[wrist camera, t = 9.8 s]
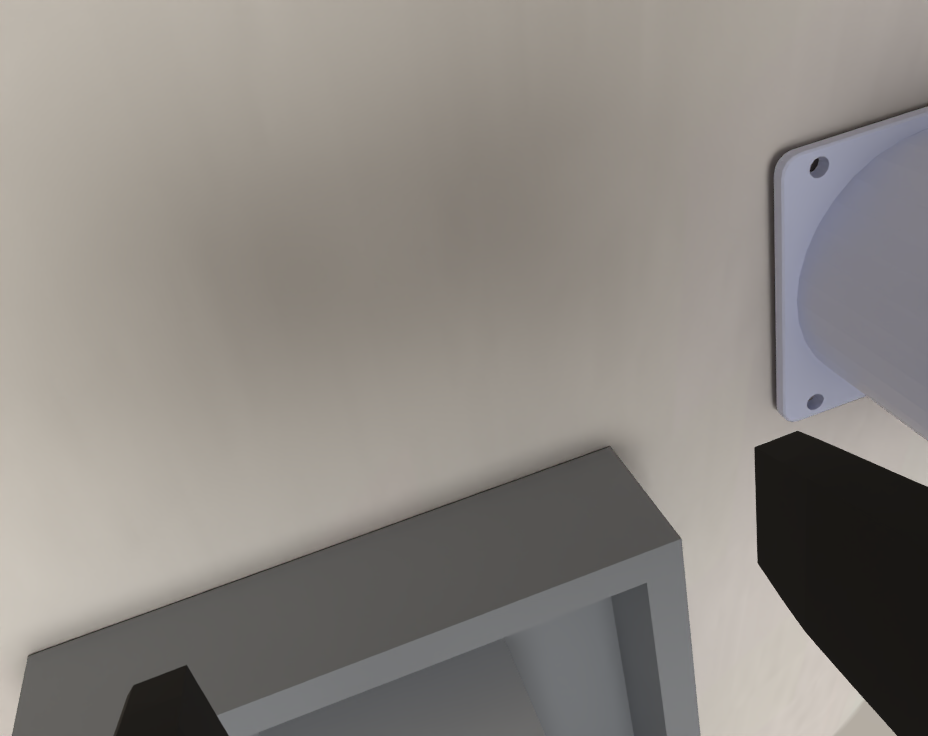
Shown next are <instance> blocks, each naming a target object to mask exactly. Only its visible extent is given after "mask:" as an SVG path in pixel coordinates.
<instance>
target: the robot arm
mask: <svg viewBox="0 0 928 736" xmlns="http://www.w3.org/2000/svg"><path fill="white" fill-rule="evenodd" d="M817 158H819V162H818V166H817V167H816V168H815V170H814V171H812V172H811V173H810V167H811V164H812V163H813V161H814V160H815V159H817ZM774 229H775V310H776V391H777V410H778V412H779V413H780V414H781V415H782V416H783V417H784V418H785V419H786V420H787V421H791V422H794V421H799V420H802V419H805V418H807V417H810V416H813V415H815V414H818V413H821V412H824V411H826V410H829V409H832V408H834V407H837V406H840V405H843V404H845V403H848V402H851V401H854V400H856V399H859V398H862V397H864V396H867V397H869V398H870V399H871V400H873V401H874V402H876V403H877V404H878V405H880V406H881V407H882V408H884V409H885V410H886V411H888V412H889V413H890V414H892V415H893V416H895V417H896V418H897V419H899V420H900V421H901V422H903V423H904V424H905V425H907V426H908V427H909V428H911V429H912V430H914V431H915V432H916V433H918V434H919V435H920V436H922V437H923V438H924V439H926V440H927V441H928V106H927V107H924V108H921V109H918V110H914V111H911V112H908V113H905V114H902V115H899V116H896V117H893V118H889V119H886V120H883V121H880V122H877V123H874V124H871V125H867V126H864V127H861V128H858V129H855V130H852V131H849V132H846V133H842V134H839V135H836V136H833V137H830V138H827V139H824V140H821V141H817V142H814V143H811V144H808V145H805V146H802V147H799V148H796V149H792V150H790V151H789V152H787V153H785V154H784V155H783V156H782V157H781V158H780V159H779V161H778V163H777V165H776V167H775V171H774ZM813 395H814V396H813ZM812 396H813V398H812V399H811V400H810V401H808V400H809V399H810V398H811V397H812ZM755 483H756V520H757V556H758V564H759V566H760V567H761V569H762V570H763V572H764V573H765V575H766V576H767V578H768V579H769V581H770V582H771V584H772V585H773V587H774V588H775V589H776V591H777V592H778V594H779V595H780V597H781V598H782V600H783V601H784V603H785V604H786V606H787V607H788V608H789V610H790V611H791V613H792V614H793V615H794V617H795V618H796V620H797V621H798V622H799V624H800V625H801V627H802V628H803V629H804V631H805V632H806V633H807V634H808V635H809V637H810V638H811V639H812V640H813V641H814V642H815V644H816V645H817V646H818V647H819V648H820V649H821V650H822V652H823V653H824V654H825V655H826V656H827V657H828V658H829V660H830V661H831V662H832V663H833V664H834V665H835V666H836V668H837V669H838V670H839V671H840V672H841V673H842V674H843V675H844V677H845V678H846V679H847V680H848V681H849V682H850V683H851V685H852V686H853V687H854V688H855V689H856V690H857V691H858V692H859V694H860V695H861V696H862V697H863V698H864V699H865V700H866V701H867V702H868V704H869V705H870V706H871V707H872V708H873V709H874V710H875V711H876V712H877V714H878V715H879V716H880V717H881V718H882V719H883V720H884V721H885V722H886V724H887V725H888V726H889V727H890V728H891V729H892V730H893V732H895V734H896V735H897V736H928V487H927V486H924V485H922V484H920V483H917V482H915V481H913V480H910V479H908V478H906V477H904V476H901V475H899V474H897V473H894V472H892V471H890V470H888V469H885V468H883V467H881V466H878V465H876V464H874V463H872V462H869V461H867V460H865V459H863V458H860V457H858V456H856V455H853V454H851V453H849V452H847V451H844V450H842V449H840V448H837V447H835V446H833V445H831V444H828V443H826V442H823V441H821V440H819V439H816V438H814V437H812V436H809V435H807V434H804V433H802V432H799V431H796V432H793V433H791V434H788V435H785V436H783V437H780V438H778V439H775V440H772V441H770V442H767V443H765V444H762V445H759V446H757V447H755ZM113 736H229V735H228V734H227V732H226V730H225V728H224V727H223V725H222V723H221V722H220V720H219V718H218V717H217V715H216V713H215V712H214V710H213V708H212V707H211V705H210V703H209V701H208V700H207V698H206V696H205V695H204V693H203V691H202V690H201V688H200V686H199V685H198V683H197V681H196V680H195V678H194V676H193V674H192V673H191V671H190V669H189V668H188V666H187V665H185V666H182V667H179V668H177V669H174V670H172V671H169V672H166V673H164V674H161V675H159V676H156V677H153V678H151V679H148V680H146V681H143V682H140V683H138V684H135V685H133V687H132V688H131V690H130V692H129V694H128V695H127V698H126V701H125V704H124V707H123V710H122V712H121V715H120V718H119V721H118V724H117V727H116V730H115V732H114V735H113Z"/></svg>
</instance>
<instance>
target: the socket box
mask: <svg viewBox="0 0 928 736" xmlns="http://www.w3.org/2000/svg"><path fill="white" fill-rule="evenodd" d="M185 665H187V666H188V668H189V669H190V671H191V673H192V674H193V676H194V678H195V680H196V681H197V683H198V685H199V686H200V688H201V690H202V691H203V693H204V695H205V696H206V698H207V700H208V701H209V703H210V705H211V707H212V708H213V710H214V712H215V713H216V715H217V717H218V718H219V720H220V722H221V723H222V725H223V727H224V728H225V730H226V732H227V734H228V735H229V736H700V727H699V717H698V706H697V696H696V685H695V675H694V665H693V654H692V644H691V634H690V623H689V613H688V602H687V592H686V582H685V571H684V561H683V551H682V540H681V538H680V536H679V535H678V534H677V532H676V531H675V530H674V529H673V527H672V526H671V525H670V523H669V522H668V521H667V519H666V518H665V517H664V516H663V514H662V513H661V512H660V510H659V509H658V508H657V506H656V505H655V504H654V503H653V501H652V500H651V499H650V497H649V496H648V495H647V493H646V492H645V491H644V490H643V488H642V487H641V486H640V484H639V483H638V482H637V480H636V479H635V478H634V477H633V475H632V474H631V473H630V471H629V470H628V469H627V468H626V466H625V465H624V464H623V462H622V461H621V460H620V458H619V457H618V456H617V455H616V453H615V452H614V451H613V449H612V448H611V447H608V448H605V449H602V450H599V451H597V452H594V453H591V454H588V455H585V456H583V457H580V458H577V459H574V460H572V461H569V462H566V463H563V464H560V465H558V466H555V467H552V468H549V469H547V470H544V471H541V472H538V473H535V474H533V475H530V476H527V477H524V478H522V479H519V480H516V481H513V482H510V483H508V484H505V485H502V486H499V487H497V488H494V489H491V490H488V491H485V492H483V493H480V494H477V495H474V496H472V497H469V498H466V499H463V500H460V501H458V502H455V503H452V504H449V505H447V506H444V507H441V508H438V509H435V510H433V511H430V512H427V513H424V514H422V515H419V516H416V517H413V518H410V519H408V520H405V521H402V522H399V523H397V524H394V525H391V526H388V527H385V528H383V529H380V530H377V531H374V532H372V533H369V534H366V535H363V536H360V537H358V538H355V539H352V540H349V541H347V542H344V543H341V544H338V545H335V546H333V547H330V548H327V549H324V550H322V551H319V552H316V553H313V554H310V555H308V556H305V557H302V558H299V559H297V560H294V561H291V562H288V563H285V564H283V565H280V566H277V567H274V568H272V569H269V570H266V571H263V572H260V573H258V574H255V575H252V576H249V577H247V578H244V579H241V580H238V581H236V582H233V583H230V584H227V585H224V586H222V587H219V588H216V589H213V590H211V591H208V592H205V593H202V594H199V595H197V596H194V597H191V598H188V599H186V600H183V601H180V602H177V603H174V604H172V605H169V606H166V607H163V608H161V609H158V610H155V611H152V612H149V613H147V614H144V615H141V616H138V617H136V618H133V619H130V620H127V621H124V622H122V623H119V624H116V625H113V626H111V627H108V628H105V629H102V630H99V631H97V632H94V633H91V634H88V635H86V636H83V637H80V638H77V639H74V640H72V641H69V642H66V643H63V644H61V645H58V646H55V647H52V648H49V649H47V650H44V651H41V652H38V653H36V654H33V655H30V656H28V659H27V664H26V669H25V674H24V679H23V684H22V689H21V693H20V698H19V703H18V708H17V713H16V718H15V723H14V728H13V733H12V736H113V735H114V732H115V730H116V727H117V724H118V721H119V718H120V715H121V712H122V710H123V707H124V704H125V701H126V698H127V695H128V694H129V692H130V690H131V688H132V687H133V685H135V684H138V683H140V682H143V681H146V680H148V679H151V678H153V677H156V676H159V675H161V674H164V673H166V672H169V671H172V670H174V669H177V668H179V667H182V666H185Z"/></svg>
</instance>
